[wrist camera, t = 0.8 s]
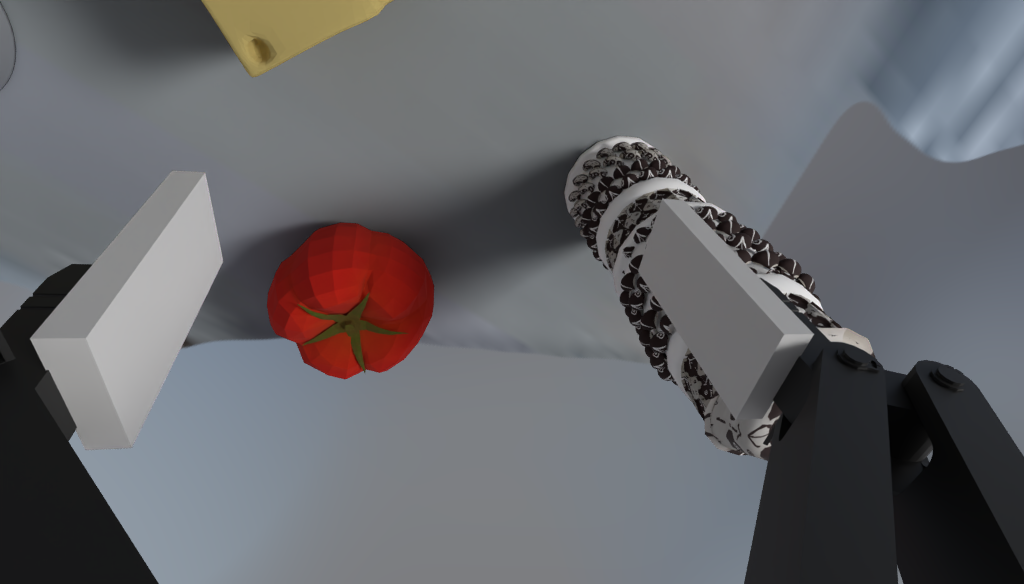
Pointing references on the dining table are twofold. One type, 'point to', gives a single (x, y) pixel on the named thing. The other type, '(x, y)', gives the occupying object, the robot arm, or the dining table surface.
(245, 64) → the cheese
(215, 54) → the dining table surface
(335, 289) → the tomato
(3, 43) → the disc
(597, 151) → the decorative candle
